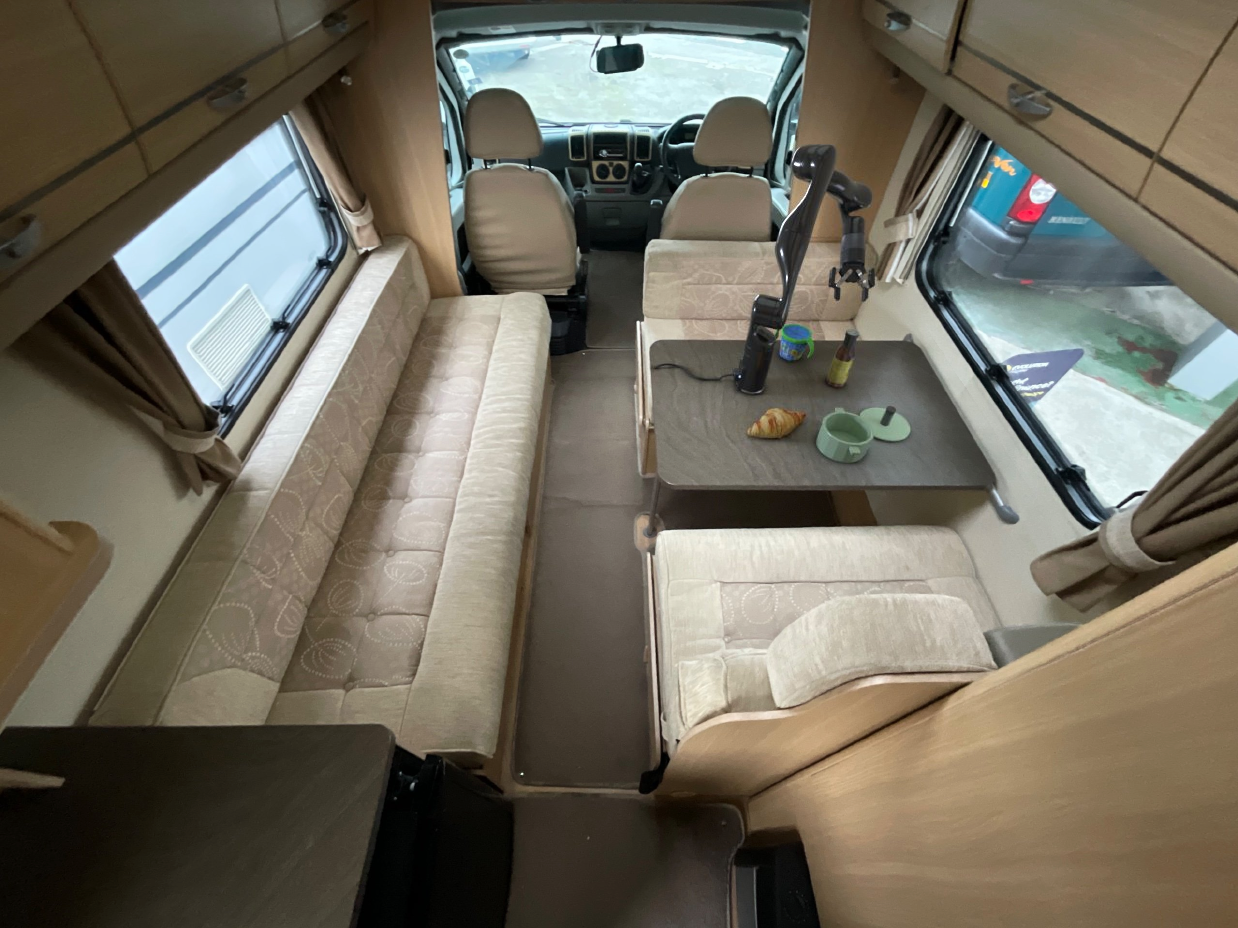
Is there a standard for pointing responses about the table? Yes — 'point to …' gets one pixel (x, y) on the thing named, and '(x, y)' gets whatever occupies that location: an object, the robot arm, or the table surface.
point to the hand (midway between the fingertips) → (850, 300)
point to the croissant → (776, 423)
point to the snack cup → (794, 341)
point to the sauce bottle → (843, 359)
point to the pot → (844, 436)
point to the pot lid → (887, 423)
